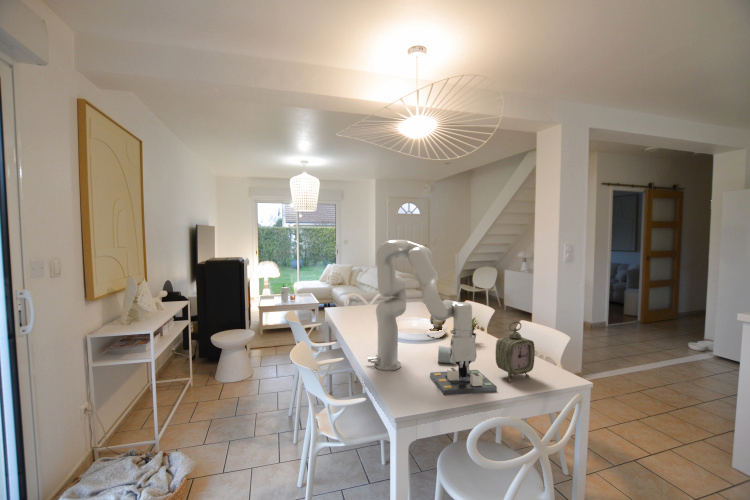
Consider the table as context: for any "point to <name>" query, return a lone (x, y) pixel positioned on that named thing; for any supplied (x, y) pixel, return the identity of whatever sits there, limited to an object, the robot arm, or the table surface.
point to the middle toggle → (453, 374)
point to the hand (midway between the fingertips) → (462, 375)
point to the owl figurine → (437, 326)
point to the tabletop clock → (515, 354)
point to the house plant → (474, 327)
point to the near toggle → (476, 379)
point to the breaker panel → (461, 384)
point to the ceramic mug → (444, 354)
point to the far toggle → (467, 368)
